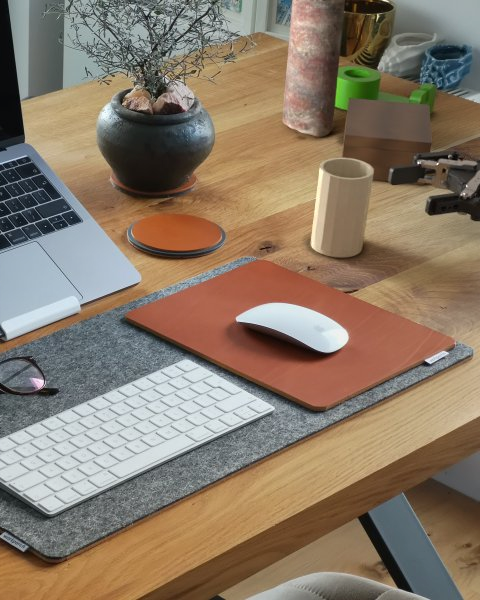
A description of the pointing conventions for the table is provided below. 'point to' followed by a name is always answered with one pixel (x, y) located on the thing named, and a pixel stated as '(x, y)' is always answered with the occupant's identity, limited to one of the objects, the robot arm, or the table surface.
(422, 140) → the dark walnut wood block
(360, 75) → the tape dispenser
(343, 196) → the pen cup
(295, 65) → the candle
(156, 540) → the table surface
